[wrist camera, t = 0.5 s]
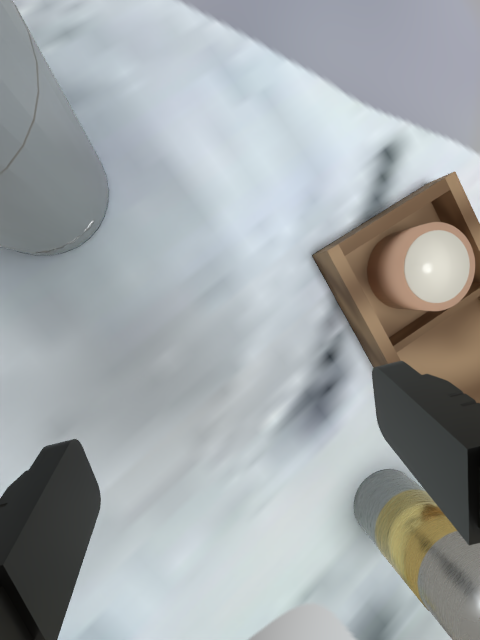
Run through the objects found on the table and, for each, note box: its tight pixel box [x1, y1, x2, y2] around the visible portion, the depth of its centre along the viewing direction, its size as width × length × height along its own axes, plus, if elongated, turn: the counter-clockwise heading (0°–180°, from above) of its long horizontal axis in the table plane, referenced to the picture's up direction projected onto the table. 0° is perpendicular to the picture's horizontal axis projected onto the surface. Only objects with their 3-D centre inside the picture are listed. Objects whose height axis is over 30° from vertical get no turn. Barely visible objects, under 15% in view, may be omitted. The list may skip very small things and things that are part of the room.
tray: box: [312, 172, 480, 403], centre depth 30 cm, size 20×12×3 cm, turn 31°
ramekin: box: [367, 222, 475, 311], centre depth 29 cm, size 6×6×4 cm
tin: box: [354, 469, 480, 640], centre depth 27 cm, size 6×6×12 cm
